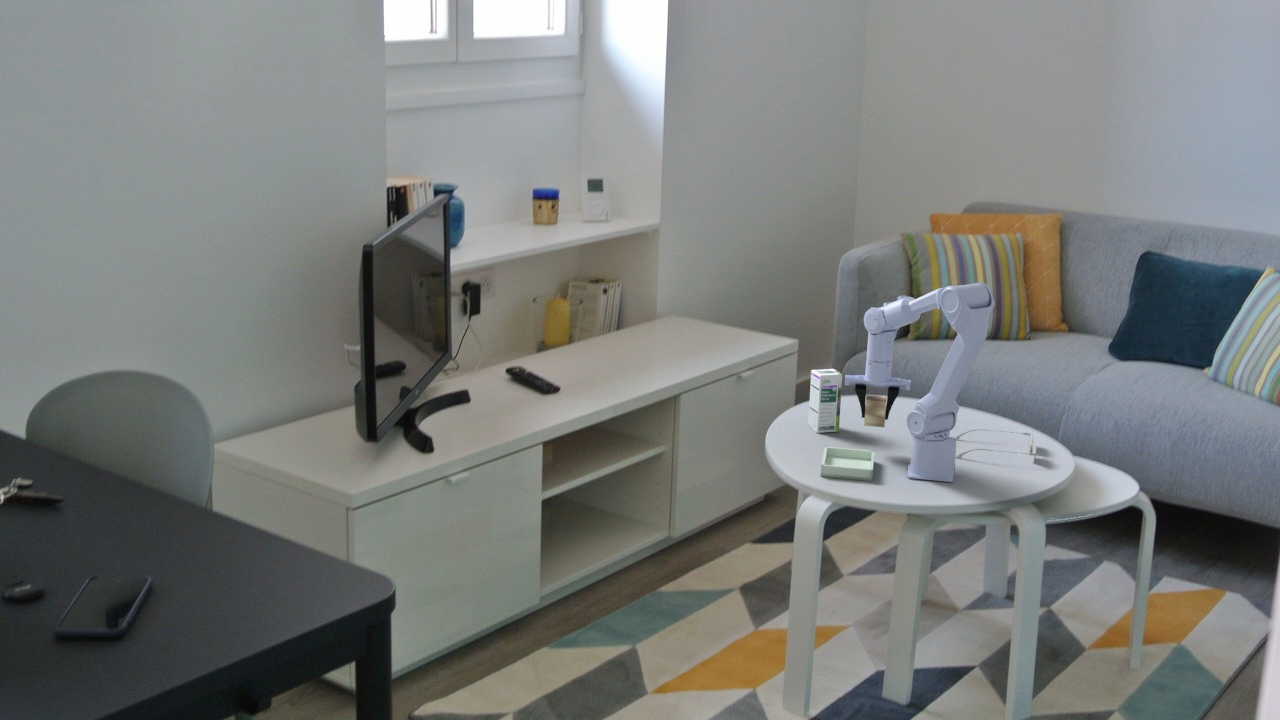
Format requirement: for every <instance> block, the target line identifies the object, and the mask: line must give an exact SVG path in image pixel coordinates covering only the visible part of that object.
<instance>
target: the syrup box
mask: <svg viewBox="0 0 1280 720" xmlns="http://www.w3.org/2000/svg"><path fill="white" fill-rule="evenodd" d="M842 386H843V374H842V373H841V372H840V371H838V370H837V369H834V368H829V369H825V368H824V369H812V370H810V388H809V389H810V390H809V403H808V404H809V405H808V406H809V409H808V424H807V425H808V427H809V428H810V429H811V430H812V431H814V432H815V433H817V434H821V433H822V434H823V433H838V432H839V431H840V420H841V419H840V417H841V404H842V403H841V402H842V401H841V399H842Z"/></svg>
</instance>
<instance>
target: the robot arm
mask: <svg viewBox="0 0 1280 720" xmlns="http://www.w3.org/2000/svg"><path fill="white" fill-rule="evenodd" d="M991 290H992V289H990V287H989V285H987V284H986V283H984V282H974V283H970V284H969V283H967V284H960V285H949V286H946V287H939V288H937V289H935V290H933V291H930V292H928V293H926V294H924V295H922V296H920V297H918V298H914V297H912V296H907V295H900V296H898V297H897V300H895V301H892V302H890V301H889V302H887V301H886V302H884V303H883V305H882V306H880V307H870V308H869V309H868V310H866V312H865V313H864V316H863V324H864V325H863V326H864V328H865V329H866V331H867V333H868V334H867V335H868V336H867V345H866V346H867V348H866V360H865V361H866V362H865V373H864V374H853V375H852V374H845V376H844V377H845V378H844V386H854V391H855V394H856V396H857V399H858V403H859V405H860V411H861V419H862V418H864V419H865V407H866V396H867V387H876V388H887V395H886V396H887V399H886V413H885V421H886V420H889V415H890V412H891V410H892V407H893V405H894V404H895V401H896V400H897V398H898V396H899V394H900V389H901V390H905V391H911V386H912V385H911V383H912V380H911V379H905V378H900V377H899V378H898V377H892V367H893V354H894V343H895V339H896V338H897V332H898V330H899V329H900V328H902V327H905V326H908V325H910V324H912V323H916V322H917V321H919V319H920V318H921V315H922V314H923V313H926V312H930V311H933V310H935V309H937V310H939V311H940V310H941V311H942V312H943V315H944V316H945V318H946V319H947V321H948V323H949V325H950V327H951V328H952V331H955V332H956V334H957V335H956V336H955V339H954V341H953V343H952V345H951V347H950V350H949V351H948V353H947V356H946V357H945V359H944V361H943V364H942V366H941V367H940V370H939V371H938V374H937V376H936V377H935V380H934V382H933V385H932V386H931V389H930V391H929V392H928V393H927V394H926V395H925V396H923V397H922V398H921V399H919V400H918V401H917V402H916V405H915V406H914V407H913V408H912V409H910V410H909V411H908V412H907V415H906V420H905V421H906V427H907V429H908V431H909V433H910V436H911V437H912V444H911V452H910V453H911V455H910V464H908V465H907V478H909V479H915V480H924V481H925V480H927V481H928V480H929V481H937V482H946V483H953V482H954V473H955V471H956V458H955V456H956V453H957V440H956V438H954V436H953V437H952V436H950V433H951V432H950V431H952V430H953V429H955V427H956V424H957V419H958V418H957V417H958V416H957V415H958V413H959V410H960V407H959V405H958V403H957V401H956V399H957V397H958V395H959V393H960V391H961V389H962V387H963V385H964V383H965V381H966V380H967V377H968V376H969V373H970V372H971V369H972V367H973V365H974V363H975V361H976V359H977V357H978V355H979V353H980V352H981V349H982V347H983V345H984V342H985V341H986V340H987V336H988V331H989V330H988V329H989V320H990V315H991V313H992V311H993V310H994V307H995V306H996V305H995V304H996V302H995V299H994V297H993V294H992V291H991Z"/></svg>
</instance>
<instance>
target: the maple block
mask: <svg viewBox="0 0 1280 720" xmlns="http://www.w3.org/2000/svg"><path fill="white" fill-rule="evenodd" d="M886 405H887V395H885V396H884V395H873V394H866V399H865V418H864V421H863V422H864V424H863V426H865V427H874V428H876V427H877V428H885V426H886V425H885V424H886V423H885V422H886V420H885V413H886Z"/></svg>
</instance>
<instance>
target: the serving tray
mask: <svg viewBox="0 0 1280 720" xmlns="http://www.w3.org/2000/svg"><path fill="white" fill-rule="evenodd" d="M874 462H875V450H869V449H868V450H867V449H856V448H845V447H837V446H836V447H835V446H824V449H823V454H822V460H821V464H820V477H822V478H824V477H825V478H833V479H845V480H855V481H866V482H867V481H868V482H873V477H874V476H873V475H874V474H873V473H874Z"/></svg>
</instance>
